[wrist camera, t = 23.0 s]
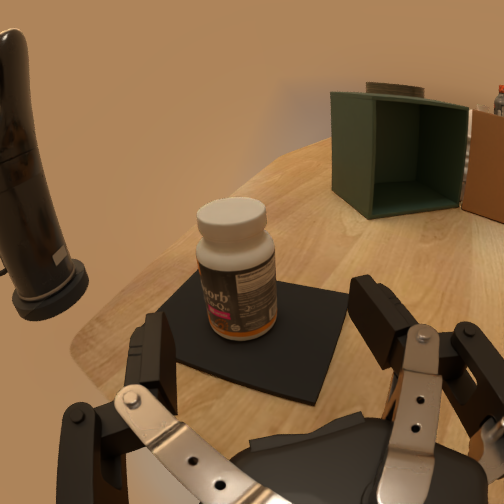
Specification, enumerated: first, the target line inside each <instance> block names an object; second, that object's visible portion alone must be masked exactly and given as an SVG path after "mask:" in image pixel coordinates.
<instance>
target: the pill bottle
mask: <svg viewBox="0 0 504 504" xmlns="http://www.w3.org/2000/svg"><path fill="white" fill-rule="evenodd" d="M197 223H198V229H199V231H200V233H201V235H202V236H203V237H202V238H201V239H200V241H199V242H198V245H197V248H196V258H197V264H198V269H199V274H200V279H201V284H202V289H203V293H204V299H205V303H206V308H207V313H208V318H209V322H210V325H211V327H212V328H213V330H214V331H215V332H216V333H217V334H219V335H220V336H222V337H224V338H227V339H230V340H236V341H246V340H251V339H255V338H257V337H260V336H262V335H264V334H265V333H266V332H267V331H268V330H270V329H271V328H272V326H273V325H274V323H275V321H276V317H277V289H276V267H275V245H274V241H273V239H272V237H271V235H270V234H269V233H268V232H267V231H266V230H264V228H265V226H266V224H267V218H266V208H265V205H264V204H263V203H262V202H261V201H259V200H256V199H253V198H246V197H230V198H224V199H219V200H215V201H212V202H210V203H207V204H206V205H204V206H202V207H201V208H200V209H199V210H198V212H197Z"/></svg>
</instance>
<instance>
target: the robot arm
mask: <svg viewBox="0 0 504 504" xmlns="http://www.w3.org/2000/svg"><path fill="white" fill-rule="evenodd" d="M37 146H38V145H37V140H36V134H35V127H34V120H33V113H32V106H31V96H30V80H29V57H28V48H27V43H26V40H25V37H24V35H23V33H22V32H21V31H20V30H19V29H16V28H12V29H8V30H6V31H3V32H1V33H0V258H1V260H2V262H3V265H4V267H5V269H3V270H1V271H0V276H2V275H5V274H6V273H7V272H8V273H9V276H10V277H11V280H12V282H13V284H14V286H15V288H16V290H17V293H18V295H19V297H20V299H21V300H22V301H23V302H26V303H36V302H41V301H44V300H46V299H49V298H51V297H53V296H55V295H56V294H58V293H59V292H61V291H62V290H63V289H65V288H66V287H67V286H68V285H69V284H70V283H71V281H72V280H73V279H74V277H75V274H76V268H75V265H74V263H73V261H72V260H71V257H70V254H69V252H68V249H67V246H66V243H65V240H64V237H63V234H62V231H61V229H60V226H59V222H58V219H57V216H56V213H55V210H54V207H53V203H52V200H51V196H50V193H49V190H48V186H47V182H46V178H45V175H44V170H43V167H42V162H41V158H40V154H39V149H38V147H37ZM348 313H349V316H350V318H351V320H352V321H353V323H354V324H355V326H356V328H357V329H358V331H359V332H360V334H361V336H362V337H363V339H364V341H365V342H366V344H367V345H368V347H369V349H370V350H371V352H372V354H373V355H374V357H375V359H376V360H377V362H378V364H379V365H380V367H381V369H382V370H385V369H387V368H390V367H392V369H393V370H394V372H393V374H392V378H391V383H390V388H389V392H388V396H387V401H386V405H385V409H384V412H383V414H382V417H381V419H380V418H364V416H363V414H362V412H361V411H359V412H357V413H354V414H351V415H347V416H344V417H341V418H338V419H335V420H333V421H332V422H330V423H328V424H326V425H324V426H323V427H321V428H319V429H317V430H315V431H314V432H312V433H309V434H277V435H273V436H268V437H263V438H258V439H253V440H249V443H250V447H249V448H247V449H245V450H243V451H241V452H239V453H238V454H236V455H235V456H233V457H232V458H231V459H230V460H227V459H226V458H225V457H224V456H223V455H221V454H220V453H219V452H218V451H217V450H215V449H214V448H213V447H212V446H211V445H209V444H208V443H207V442H206V441H205V440H204V439H202V438H201V437H200V436H199V435H198V434H197V433H196V432H195V431H194V430H192V429H191V428H190V427H189V426H188V425H187V424H185V423H184V422H180V421H178V420H177V419H176V418H175V417H174V415H178V413H177V385H176V347H175V341H174V337H173V335H172V332H171V329H170V326H169V323H168V320H167V317H166V314H165V312H164V311H162V312H155V313H148V314H146V319H145V327H137V328H136V329H135V331H134V332H133V334H132V336H131V338H130V344H129V351H128V358H127V366H126V374H125V382H124V387H123V388H122V389H121V390H120V391H119V392H118V393H117V394H116V396H115V399H114V400H113V401H112V402H110V403H107V404H104V405H101V406H98V407H96V408H93V407H92V406H91V405H89V404H88V403H84V402H78V403H74V404H72V405H71V406H69V407H68V408H67V409H66V411H65V413H64V415H63V419H62V427H61V435H60V444H59V455H58V467H57V486H56V504H129V500H128V487H127V473H126V472H127V471H126V453H129V452H132V451H135V450H137V449H140V448H143V447H147V448H148V449H149V450H150V451H151V452H152V454H154V456H155V457H156V458H157V459H158V460H159V461H160V462H161V463H162V464H163V465H164V466H165V468H166V469H167V470H168V471H169V472H170V473H171V474H172V475H173V476H174V477H175V478H176V479H177V480H178V481H179V482H180V483H181V484H182V485H183V486H185V487H186V488H187V489H188V490H189V491H190V492H191V493H192V494H193V495H194V496H195V497H196V498H197V499H198V500H200V501H201V502H200V503H199V504H488V485H489V484H491V483H492V482H493V481H495V480H498V479H502V478H504V359H503V358H502V356H501V355H500V354H499V352H498V351H497V350H496V348H495V347H494V346H493V345H492V343H491V342H490V341H489V339H488V338H487V337H486V336H485V334H484V333H483V332H482V331H481V330H480V328H479V327H478V326H477V325H475V324H473V323H471V322H460V323H458V324H457V325H456V327H455V329H454V331H453V332H442V333H438V332H437V331H436V330H435V329H434V328H433V327H431V326H429V325H426V324H419V323H418V322H417V321H416V320H415V318H414V317H413V316H412V315H411V313H410V312H409V311H408V310H407V309H406V307H405V306H404V305H403V304H401V301H400V300H399V299H398V298H396V295H395V294H394V293H393V292H392V291H391V290H390V289H389V288H388V287H386V286H384V285H383V284H381V283H379V284H377V283H376V282H375V281H374V280H373V279H372V277H371V276H370V275H363V276H358V277H353V278H352V279H351V282H350V290H349V298H348ZM467 366H468V368H469V369H470V371H471V372H472V374H473V375H474V377H475V378H476V381H477V385H476V384H475V382H474V381H473V379H472V377H471V376H470V374H469V373H468V371H467V370H466V368H467ZM442 389H443V391H444V393H445V394H446V396H447V398H448V400H449V401H450V403H451V405H452V407H453V408H454V410H455V412H456V414H457V415H458V417H459V419H460V421H461V423H462V425H463V426H464V428H465V430H466V432H467V434H468V436H469V438H470V441H469V452H468V456H466V455H464V454H461V453H459V452H457V451H454V450H452V449H450V448H447V447H445V446H443V445H440V444H438V443H436V442H435V440H436V434H437V427H438V420H439V411H440V402H441V391H442Z"/></svg>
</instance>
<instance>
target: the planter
mask: <svg viewBox="0 0 504 504" xmlns="http://www.w3.org/2000/svg"><path fill="white" fill-rule="evenodd" d="M366 93H375V94H389V95H400V96H409V97H418V98H424V88H422V87H415V86H408V85H399V84H389V83H376V82H366Z"/></svg>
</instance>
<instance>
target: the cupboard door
mask: <svg viewBox="0 0 504 504" xmlns="http://www.w3.org/2000/svg"><path fill="white" fill-rule="evenodd" d="M462 209H463V210H467V211H470V212H473V213H476V214H479V215H482V216H485V217H488V218H490V219H493V220H496V221H499V222H502V223H504V117H502V116H498V115H495V114H491V113H487V112H483V111H478V110H474V109H472V127H471V141H470V152H469V161H468V170H467V177H466V184H465V191H464V197H463V203H462Z"/></svg>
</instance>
